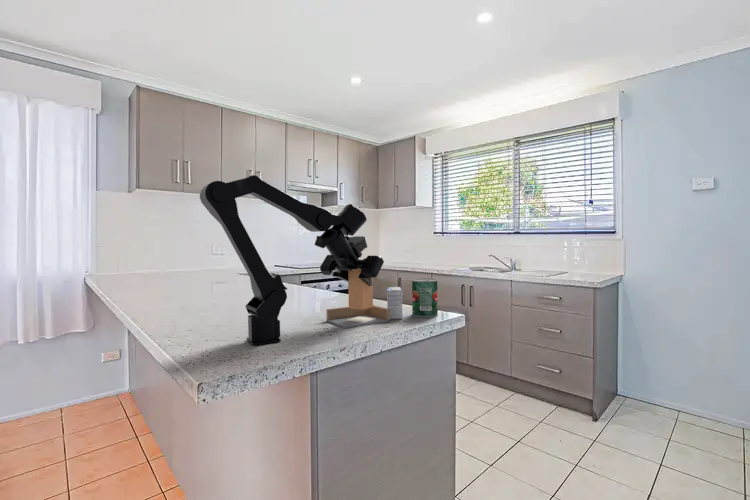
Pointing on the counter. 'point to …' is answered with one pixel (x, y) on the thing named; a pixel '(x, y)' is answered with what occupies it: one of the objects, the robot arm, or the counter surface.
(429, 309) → the canned tomato
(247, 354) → the counter surface
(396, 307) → the medicine box
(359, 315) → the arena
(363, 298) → the terracotta block
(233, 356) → the counter surface
